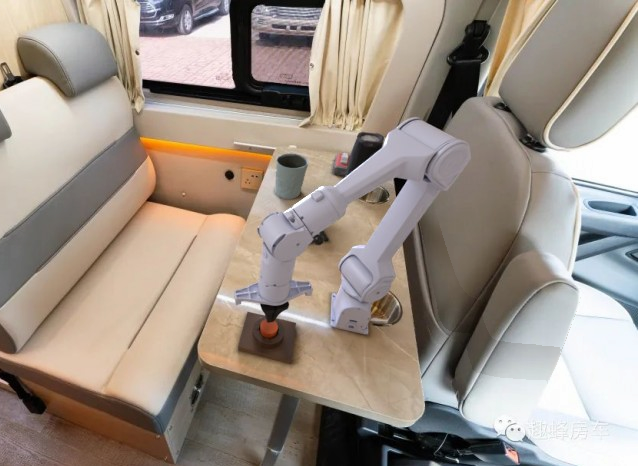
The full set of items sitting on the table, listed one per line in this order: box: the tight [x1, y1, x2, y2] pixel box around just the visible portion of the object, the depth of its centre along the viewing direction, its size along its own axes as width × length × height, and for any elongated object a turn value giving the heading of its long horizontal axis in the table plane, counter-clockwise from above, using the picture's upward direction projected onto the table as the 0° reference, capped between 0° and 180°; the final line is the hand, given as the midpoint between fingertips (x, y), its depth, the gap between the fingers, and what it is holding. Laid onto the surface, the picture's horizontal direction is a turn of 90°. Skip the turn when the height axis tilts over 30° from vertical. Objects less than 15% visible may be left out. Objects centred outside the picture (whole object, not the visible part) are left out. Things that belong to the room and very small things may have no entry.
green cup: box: [274, 152, 309, 200], centre depth 109 cm, size 10×10×12 cm
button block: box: [237, 311, 297, 365], centre depth 70 cm, size 11×9×4 cm
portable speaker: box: [344, 131, 385, 178], centre depth 106 cm, size 9×9×20 cm
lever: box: [313, 233, 325, 246], centre depth 91 cm, size 12×3×3 cm, turn 9°
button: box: [260, 319, 278, 338], centre depth 68 cm, size 4×4×2 cm
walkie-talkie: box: [331, 152, 351, 177], centre depth 124 cm, size 9×4×20 cm
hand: (269, 318), depth 67 cm, fingers closed
